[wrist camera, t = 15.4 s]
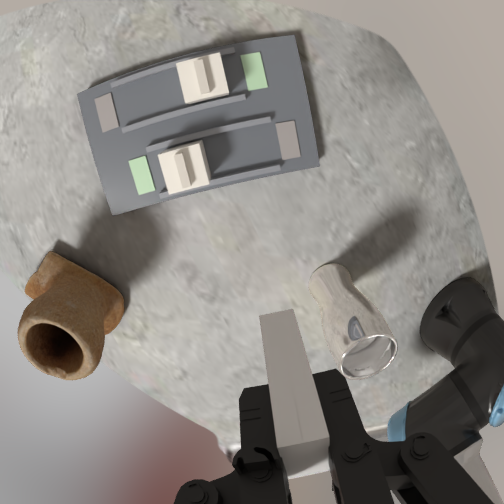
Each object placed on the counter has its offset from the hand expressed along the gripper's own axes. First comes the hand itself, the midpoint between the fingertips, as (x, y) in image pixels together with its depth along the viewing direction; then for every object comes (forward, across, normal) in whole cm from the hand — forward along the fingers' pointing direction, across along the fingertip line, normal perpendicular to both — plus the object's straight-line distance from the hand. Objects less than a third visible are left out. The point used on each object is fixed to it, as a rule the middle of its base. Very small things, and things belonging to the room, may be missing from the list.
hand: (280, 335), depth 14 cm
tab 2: (+22, +6, -6) cm, 23 cm away
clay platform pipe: (+24, +26, +6) cm, 36 cm away
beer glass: (+25, -8, +14) cm, 30 cm away
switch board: (+24, +4, -10) cm, 26 cm away
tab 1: (+22, +2, -14) cm, 26 cm away
